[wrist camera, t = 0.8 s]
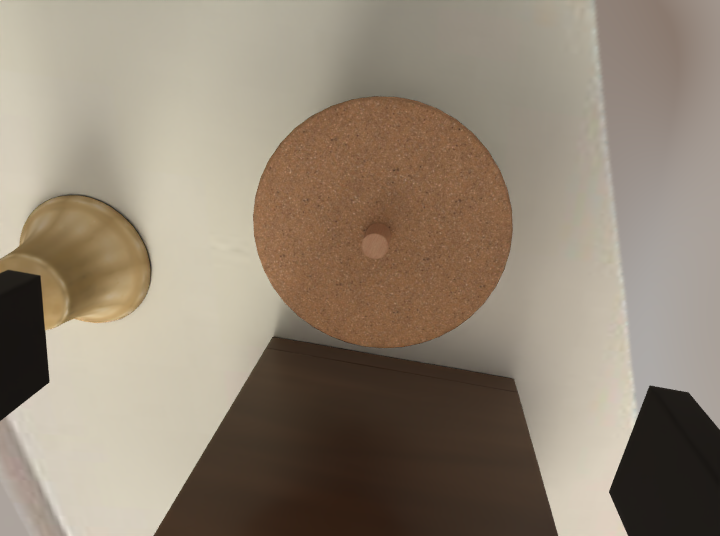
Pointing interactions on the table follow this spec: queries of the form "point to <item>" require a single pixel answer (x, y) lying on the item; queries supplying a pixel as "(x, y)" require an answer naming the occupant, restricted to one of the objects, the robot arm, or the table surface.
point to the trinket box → (383, 222)
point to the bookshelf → (365, 453)
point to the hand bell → (82, 260)
